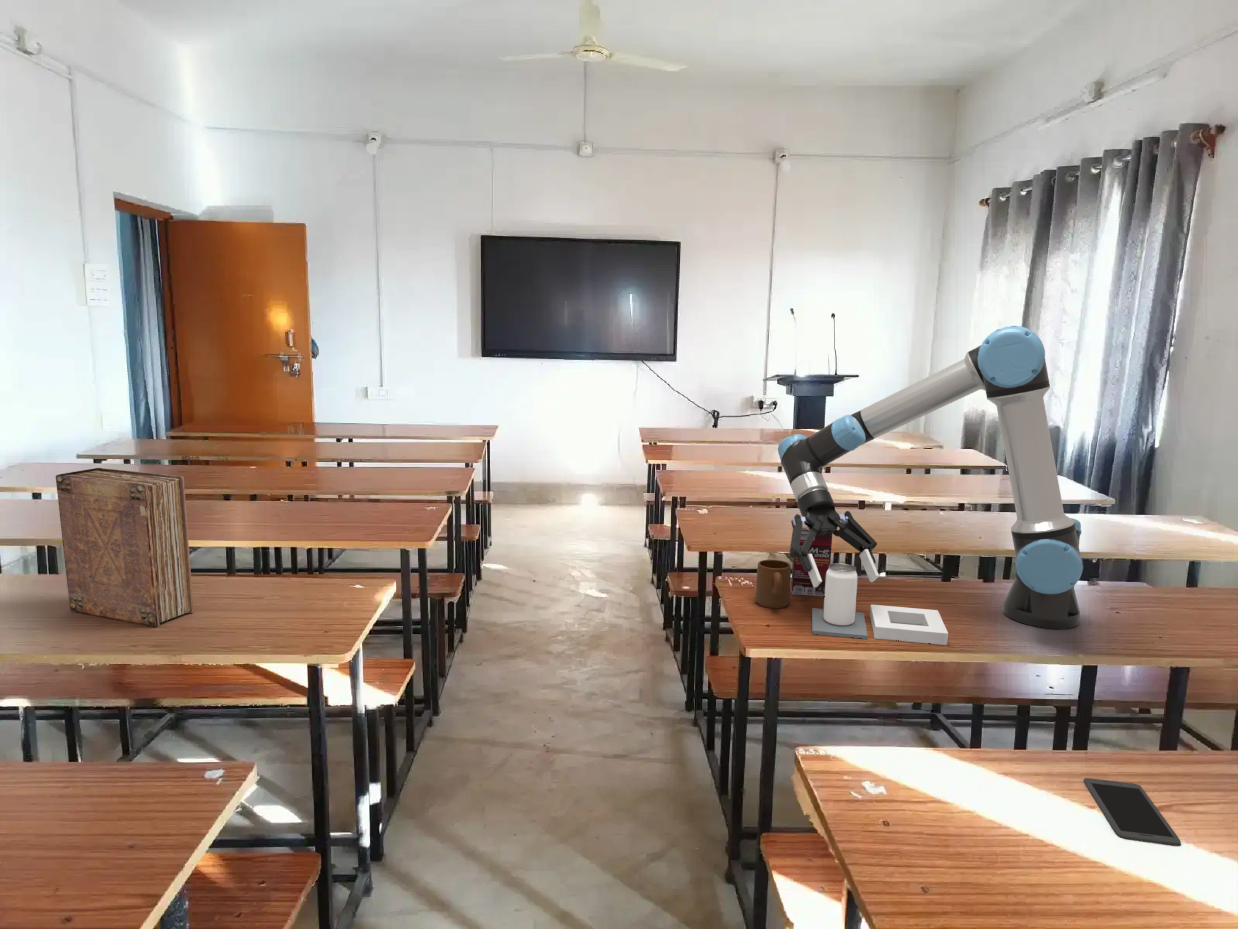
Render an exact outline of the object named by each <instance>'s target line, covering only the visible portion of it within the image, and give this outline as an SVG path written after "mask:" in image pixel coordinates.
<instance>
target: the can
mask: <svg viewBox="0 0 1238 929" xmlns="http://www.w3.org/2000/svg"><path fill="white" fill-rule="evenodd" d="M857 591H858V573H857V567H856V566H854V565H852V564H847V563H841V562H840V563H838V562H837V563H836V562H835V563H830V565H829V569H828V570H827V572H826V583H825V597H824V599H823V600H824V601H823V609H824V620H825V621H826V622H827V623H829V624H832V625H836V626H849V625H851V624H853V623H854V621H855V612H856V606H857Z"/></svg>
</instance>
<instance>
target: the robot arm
mask: <svg viewBox="0 0 1238 929" xmlns="http://www.w3.org/2000/svg"><path fill="white" fill-rule="evenodd" d="M1047 367H1048V366H1047V361H1046V350H1045V347H1044V343H1043V341H1042V340H1041V338H1040V337H1039V335H1037V334H1036V333H1035V332H1033V330H1032V329H1029V328H1028V327H1025V326H1019V325H1010V326H1004V327H1001V328H997V329H995V330H994V331H992V332H991V333H990V334H988V335H987V336H986V337H985V338H984V340H983V341H982V342H981V344H980V345H979V346H976V347H975V348H973V349H971V350H969V351H967V352H966V354H965V356H964V358H963V359H961V360H959V361H957V362H955V363H953V364H952V365H949V366H947V367H945V368H943V369H941V370H939V371H937V372H934V373H933V374H931V375H929V376H926V377H925V378H922V379H921V380H918V381H916V382H915V383H912V384H910V385H908V386H906V387H904V388H903V389H900V390H899V391H896V392H894V393H893V394H890V395H888V396H886V397H884V398H882V399H880V400H878V401H876V402H874V403H871V404H870V405H868V406H866V407H863V408H862V409H861V410H857V411H855V412H854V413H852V414H845V415H843V416H841V417H840V418H836V419H835V420H834V421H832V422H831V423H830V424H828V425H826V426H825V427H823V428H821V429H820V430H819V431H817V432H815V433H814V434H812V435H810V436H808V437H807V436H805V435H803V434H799V433H798V434H793V435H792V436H786V437H785V438H784V439H782V440H781V442H779V444H778V446H777V453H778V456H779V460H780V464H781V466H782V468H783V471H784V473H785V476H786V478H787V480H788V483H789V485H790V488H791V490H792V493H793V496H794V498H795V502H797V506H798V509H799V512H800V514H798V513H796V514H795V515H794V516H793V518H792V519H791V527H792V533H791V540H790V546H789V553H788V555H789V557H790V558H792V559H793V557H797V558H796V559H797V561H801V563H802V566H803V569H804V571H805V572H808V574H809V576H810V579H811V582H812V584H813V587H818V585H819V584H820V583H821V582H822V579H821V577H820V574H819V571H818V569H817V566H816V564H815V561H814V558H813V556H812V554H808V555H807V553H808V551H809V548H810V546H811V544H812V542H813V540H814V537H815V535H816V534H819V536H820V535H824V534H826V535H832V536H833V535H834V536H835V537H839V538H840V539H842V540H843V541H844V542H846V543H847V544H849V545H850V546H851V547H853V548H854V549H856V550H857V551H858V552H859V553H860V554H859V558H860V560H861V563H862V565H863V568H864V570H865V573H866V576H867V577H868V580H869V582H870V583H874V582H875V581H876V580H877V579H878V578H879V577H880V574H879V572H878V570H877V567H876V565H875V564H876V563H877V562H876V558H875V556H874V554H873V552H872V551H873V550H874V549H875V548H876V547H877V546H878V542H877V541H876V540H875V539H874V538H873V537H872V536H871V535H870V534H869V533H868V532H867V531H866V530H865V529H864V528H863V526H861V525H860V524H859V522H858V521H856V520H855V519H854V517H853V514H852V513H851V512H850V511H849V510H846V511H845V512H844V513H840V514H839V513H838V512H837V511H836V507H835V506H836V504H835V502H834V500H833V497H832V495H831V493H830V491H829V487H828V484H827V483H826V480H825V478H824V476H823V473H822V470H821V469H822V468H823V467H825V466H827V465H829V464H830V463H832V462H834V461H835V460H836V461H837V459H839V458H841V457H843V456H845V455H846V454H848V453H850V452H852V451H855V450H856V449H857V448H859V447H860V446H863V445H864V444H866V443H868V442H871V441H873V440H874V439H876V438H879V437H881V436H883V435H886V434H887V433H890V432H891V431H892V432H893V431H894V430H897V429H899V428H900V427H902V426H904V425H907V424H909V423H911V422H913V421H915V420H918V419H920V418H922V417H924V416H927V415H928V414H931V413H933V412H934V411H937V410H939V409H941V408H943V407H945V406H948V405H949V404H952V403H954V402H957V401H958V400H960V399H962V398H965V397H967V396H969V395H971V394H973V393H976V392H977V391H979V390H982V391H985V396H986V400H988V401H989V402H990V403H992V404H994V405H995V406H996V410H997V417H998V421H999V427H1000V431H1001V437H1002V442H1003V448H1004V453H1005V460H1006V464H1007V465H1006V466H1007V471H1008V476H1009V481H1010V487H1011V492H1012V498H1013V503H1014V508H1015V516H1016V518H1017V519H1016V520H1015V522H1014V523H1013V524H1012V525H1011V527H1010V531H1011V536H1012V543H1013V548H1014V549H1013V550H1014V554H1015V562H1014V566H1015V576H1014V581H1013V583H1012V584H1011V587H1010V589H1009V591H1008V593H1007V595H1006V596H1005V599H1004V602H1003V605H1002V606H1003V608H1002V612H1003V614H1004V615H1005V616H1006V617H1008V618H1009V619H1010V620H1014V621H1016V622H1019V623H1021V624H1024V625H1028V626H1032V627H1038V628H1045V629H1055V630H1056V629H1057V630H1064V629H1066V630H1067V629H1071V628H1076V627H1078V626H1079V625H1080V621H1081V620H1080V618H1081V610H1080V606H1079V603H1078V599H1077V594H1076V591H1075V586H1076V584H1077V583H1078V582H1079V580H1080V578H1081V576H1082V573H1083V572H1084V564H1083V559H1082V557H1081V552H1080V539H1081V535H1082V524H1081V521H1080V520H1079V519H1076V518H1071V517H1069V516H1068V515H1067V514H1065V511H1064V506H1063V500H1062V494H1061V490H1060V489H1061V488H1060V484H1059V478H1058V473H1057V466H1056V461H1055V456H1054V449H1053V444H1052V439H1051V433H1050V428H1049V422H1048V417H1047V410H1046V406H1045V400H1044V397H1045V395H1046V393H1048V391H1049V390H1050V388H1051V386H1050V384H1051V383H1050V379H1049V373H1048V368H1047ZM803 525H805V527H809V528H810V530H809V532H808V534H807V537H806V539H805V542H804V544H803V546H802V548H801V550H800V549H799V546H800V539H801V532H802V526H803ZM838 528H839V529H838ZM837 529H838V530H837Z"/></svg>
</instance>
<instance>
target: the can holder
mask: <svg viewBox="0 0 1238 929" xmlns="http://www.w3.org/2000/svg"><path fill="white" fill-rule="evenodd" d="M869 617H870V623H871V627H872V632H873V637H874V639H878V640H885V641H887V640H888V641H896V640H897V641H898V640H899V642H908V643H916V644H917V643H918V644H919V643H921V644H928V643H931V644H930V645H939V646H940V645H942V646H948V641H949V632H948V629H947V628H946V625H945V623H944V622H943V621H944V620H943V619H942V616H941V614H940V612H939V610H938V609H928V608H927V609H926V608H916V607H915V608H914V607H905V606H895V605H894V606H893V605H883V604H882V605H881V604H880V605H879V604H870V608H869Z"/></svg>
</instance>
